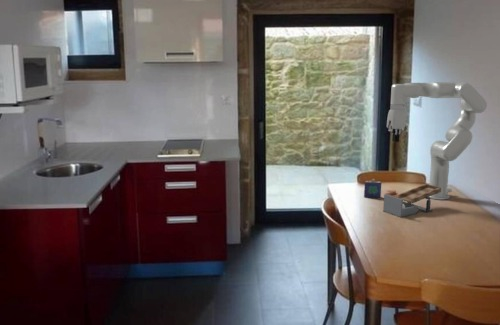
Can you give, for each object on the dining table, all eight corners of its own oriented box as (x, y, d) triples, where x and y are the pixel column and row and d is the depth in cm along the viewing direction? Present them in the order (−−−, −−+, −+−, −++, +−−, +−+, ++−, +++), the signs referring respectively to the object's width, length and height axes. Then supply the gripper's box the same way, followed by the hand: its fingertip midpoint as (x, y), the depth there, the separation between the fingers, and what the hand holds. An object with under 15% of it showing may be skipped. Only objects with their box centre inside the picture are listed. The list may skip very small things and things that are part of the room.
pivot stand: (409, 204, 278) (410, 193, 276) (432, 211, 265) (433, 200, 264) (404, 205, 276) (405, 194, 274) (427, 212, 263) (427, 201, 262)
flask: (380, 196, 293) (381, 178, 290) (381, 198, 290) (382, 179, 287) (363, 196, 293) (364, 178, 291) (364, 198, 290) (365, 179, 288)
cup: (399, 207, 272) (400, 191, 270) (416, 213, 262) (418, 196, 260) (383, 211, 266) (384, 194, 264) (400, 217, 256) (401, 199, 254)
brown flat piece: (412, 185, 286) (412, 180, 285) (444, 193, 269) (444, 188, 268) (384, 196, 276) (384, 190, 275) (415, 205, 259) (415, 200, 258)
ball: (398, 211, 266) (402, 204, 266) (404, 213, 263) (408, 206, 263) (394, 208, 264) (397, 201, 264) (400, 210, 261) (403, 203, 261)
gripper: (402, 106, 285) (400, 139, 289) (382, 107, 277) (380, 141, 281) (412, 107, 279) (410, 141, 282) (392, 108, 271) (390, 143, 275)
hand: (395, 141), depth 282 cm, fingers closed
